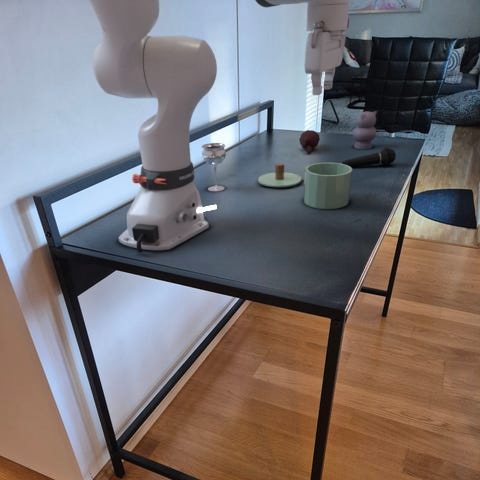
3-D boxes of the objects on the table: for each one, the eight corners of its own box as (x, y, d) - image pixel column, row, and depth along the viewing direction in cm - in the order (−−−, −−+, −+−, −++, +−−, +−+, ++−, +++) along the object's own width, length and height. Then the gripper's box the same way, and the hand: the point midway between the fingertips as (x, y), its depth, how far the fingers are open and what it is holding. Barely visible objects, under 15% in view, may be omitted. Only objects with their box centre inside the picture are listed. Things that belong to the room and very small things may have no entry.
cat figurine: (363, 143, 167) (367, 108, 160) (379, 146, 162) (384, 111, 155) (347, 146, 163) (350, 111, 157) (363, 151, 158) (367, 114, 151)
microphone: (334, 179, 143) (396, 167, 142) (335, 163, 138) (399, 151, 137) (330, 169, 146) (391, 158, 145) (331, 153, 141) (393, 142, 140)
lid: (293, 191, 126) (294, 172, 123) (251, 186, 130) (251, 168, 127) (306, 177, 135) (307, 160, 132) (267, 174, 140) (267, 156, 137)
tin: (342, 211, 112) (346, 177, 107) (298, 206, 116) (299, 173, 111) (353, 196, 121) (356, 164, 116) (311, 191, 125) (312, 160, 120)
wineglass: (203, 192, 127) (199, 149, 120) (205, 185, 133) (202, 143, 126) (227, 192, 127) (224, 148, 120) (228, 184, 133) (226, 142, 126)
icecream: (299, 126, 165) (294, 139, 154) (319, 121, 163) (315, 134, 152) (303, 145, 169) (298, 159, 158) (323, 140, 167) (319, 154, 156)
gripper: (329, 21, 88) (323, 98, 95) (351, 20, 103) (345, 86, 111) (298, 22, 90) (296, 98, 98) (324, 21, 105) (320, 86, 113)
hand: (322, 91), depth 104 cm, fingers open, 8 cm apart
